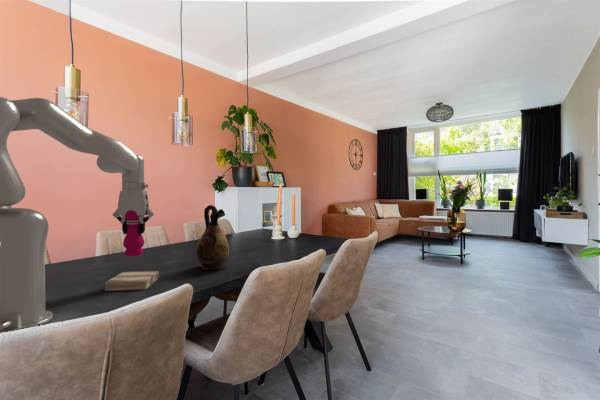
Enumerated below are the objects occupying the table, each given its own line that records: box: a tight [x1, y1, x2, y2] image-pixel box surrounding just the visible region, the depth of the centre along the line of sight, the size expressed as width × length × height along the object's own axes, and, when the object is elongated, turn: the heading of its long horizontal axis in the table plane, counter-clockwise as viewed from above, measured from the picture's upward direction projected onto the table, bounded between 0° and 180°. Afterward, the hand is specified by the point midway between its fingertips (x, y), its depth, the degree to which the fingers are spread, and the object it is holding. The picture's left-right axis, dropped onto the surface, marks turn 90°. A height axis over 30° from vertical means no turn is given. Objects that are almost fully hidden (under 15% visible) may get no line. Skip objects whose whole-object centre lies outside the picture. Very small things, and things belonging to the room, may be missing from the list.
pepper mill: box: [122, 210, 145, 257], centre depth 113 cm, size 7×7×20 cm
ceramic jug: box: [195, 204, 230, 271], centre depth 139 cm, size 17×15×30 cm
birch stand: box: [104, 270, 160, 292], centre depth 114 cm, size 14×14×3 cm
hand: (133, 233), depth 113 cm, fingers closed on pepper mill, 5 cm apart
